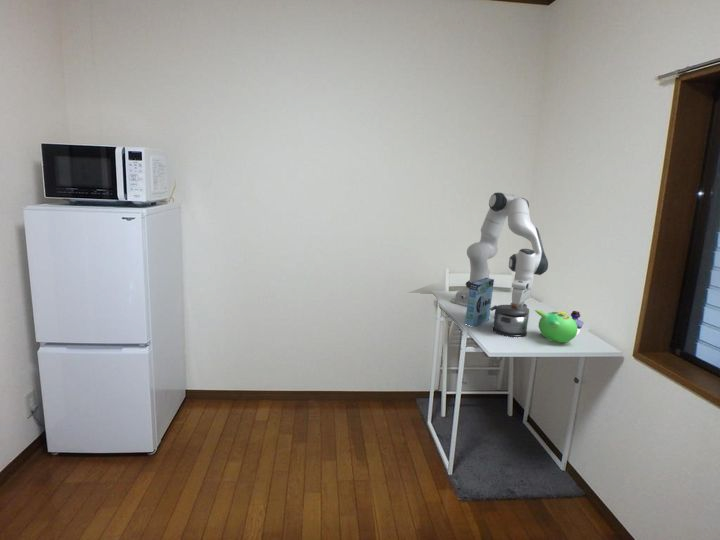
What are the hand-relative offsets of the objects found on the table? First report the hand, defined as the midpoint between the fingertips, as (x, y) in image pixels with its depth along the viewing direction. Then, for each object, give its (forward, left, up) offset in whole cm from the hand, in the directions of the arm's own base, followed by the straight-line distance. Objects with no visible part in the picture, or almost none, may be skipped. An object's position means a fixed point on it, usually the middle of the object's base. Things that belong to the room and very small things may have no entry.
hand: (520, 309), depth 219 cm
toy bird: (+17, +3, -13) cm, 22 cm away
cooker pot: (-4, 0, -13) cm, 13 cm away
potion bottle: (+22, +21, -13) cm, 33 cm away
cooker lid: (-5, 0, -2) cm, 5 cm away
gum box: (-22, +4, -13) cm, 26 cm away
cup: (-6, +20, -13) cm, 25 cm away
